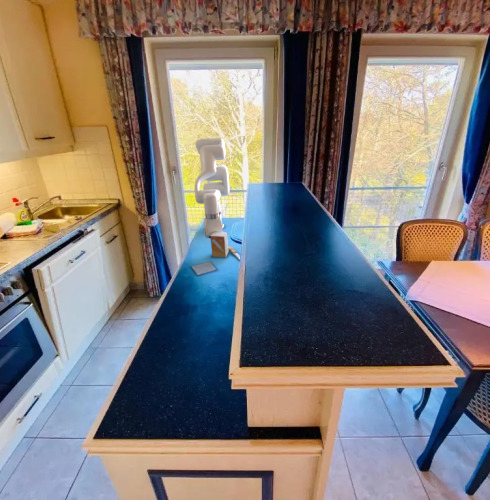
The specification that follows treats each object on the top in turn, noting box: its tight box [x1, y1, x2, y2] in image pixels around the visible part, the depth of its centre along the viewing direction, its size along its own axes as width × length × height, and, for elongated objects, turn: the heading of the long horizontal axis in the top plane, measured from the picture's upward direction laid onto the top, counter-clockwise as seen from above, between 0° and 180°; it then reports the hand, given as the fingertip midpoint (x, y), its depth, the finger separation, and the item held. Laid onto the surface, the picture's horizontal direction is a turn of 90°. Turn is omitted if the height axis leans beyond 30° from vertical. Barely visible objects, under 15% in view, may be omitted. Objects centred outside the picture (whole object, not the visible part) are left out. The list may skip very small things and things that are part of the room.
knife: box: [228, 245, 241, 261], centre depth 159 cm, size 17×2×2 cm, turn 28°
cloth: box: [191, 261, 217, 276], centre depth 146 cm, size 10×10×1 cm
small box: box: [209, 231, 230, 258], centre depth 157 cm, size 8×6×13 cm
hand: (215, 245), depth 163 cm, fingers closed
